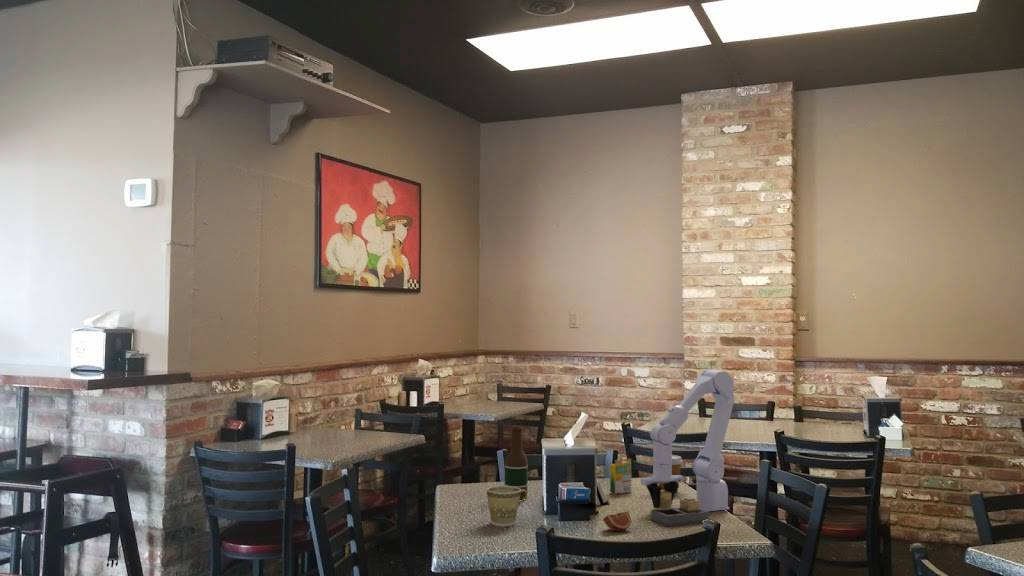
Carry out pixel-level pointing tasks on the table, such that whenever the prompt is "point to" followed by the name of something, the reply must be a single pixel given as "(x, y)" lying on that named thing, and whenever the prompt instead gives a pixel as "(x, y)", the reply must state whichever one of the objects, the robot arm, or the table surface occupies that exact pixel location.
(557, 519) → the table surface
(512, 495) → the ceramic cup
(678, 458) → the disposable coffee cup
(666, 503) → the beige small block
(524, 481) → the beer bottle
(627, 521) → the fruit slice
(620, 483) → the crayon box
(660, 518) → the tray
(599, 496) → the hinge
